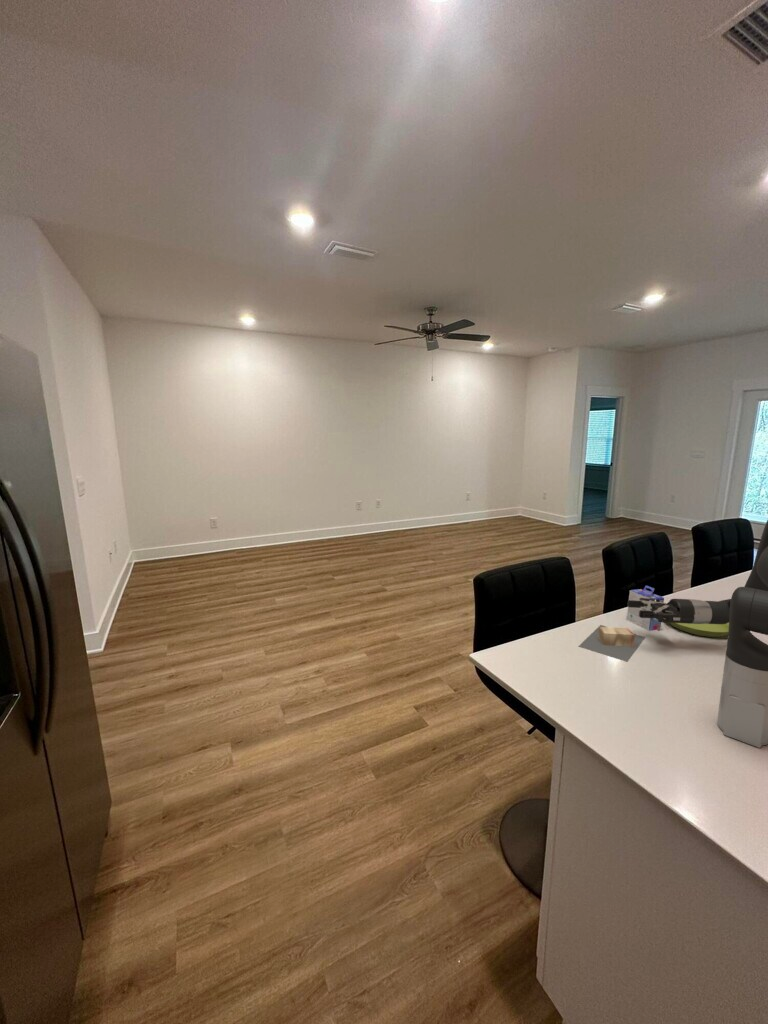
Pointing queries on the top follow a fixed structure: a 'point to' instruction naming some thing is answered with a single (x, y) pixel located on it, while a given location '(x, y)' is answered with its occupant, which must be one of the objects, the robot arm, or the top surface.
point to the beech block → (616, 636)
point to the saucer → (704, 629)
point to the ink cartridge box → (634, 612)
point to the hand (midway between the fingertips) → (633, 608)
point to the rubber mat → (610, 646)
